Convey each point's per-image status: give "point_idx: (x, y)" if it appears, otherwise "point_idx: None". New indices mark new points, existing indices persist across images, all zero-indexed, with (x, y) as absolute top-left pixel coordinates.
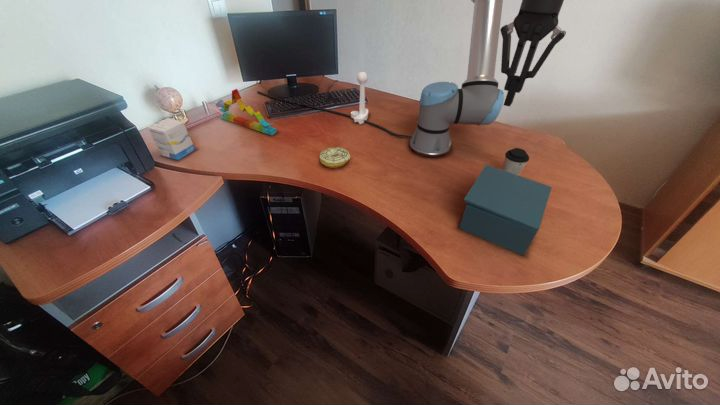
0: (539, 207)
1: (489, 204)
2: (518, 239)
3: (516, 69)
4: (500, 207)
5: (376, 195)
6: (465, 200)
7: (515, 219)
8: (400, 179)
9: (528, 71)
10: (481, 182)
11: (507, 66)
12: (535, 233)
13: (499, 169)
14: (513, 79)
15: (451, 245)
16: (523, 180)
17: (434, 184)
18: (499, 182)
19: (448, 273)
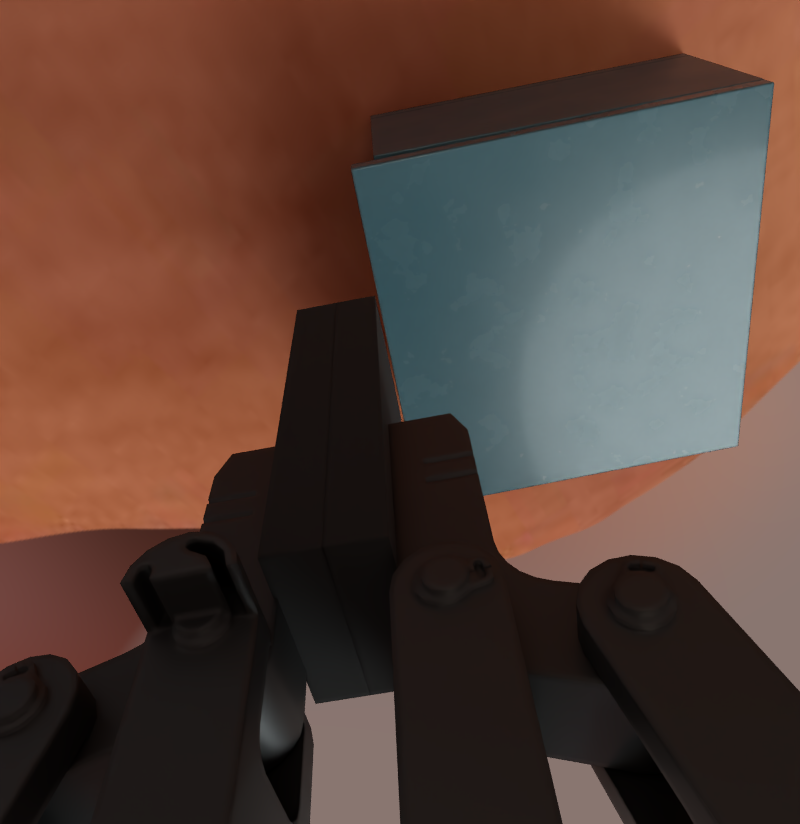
0: (726, 323)
1: (524, 464)
2: None
3: (259, 709)
4: (571, 447)
5: (53, 476)
6: None
7: (645, 463)
8: (5, 324)
9: (531, 684)
10: (422, 356)
11: (51, 792)
12: None
13: (443, 157)
14: (341, 685)
15: None
16: (607, 154)
17: (149, 233)
18: (497, 284)
19: None
